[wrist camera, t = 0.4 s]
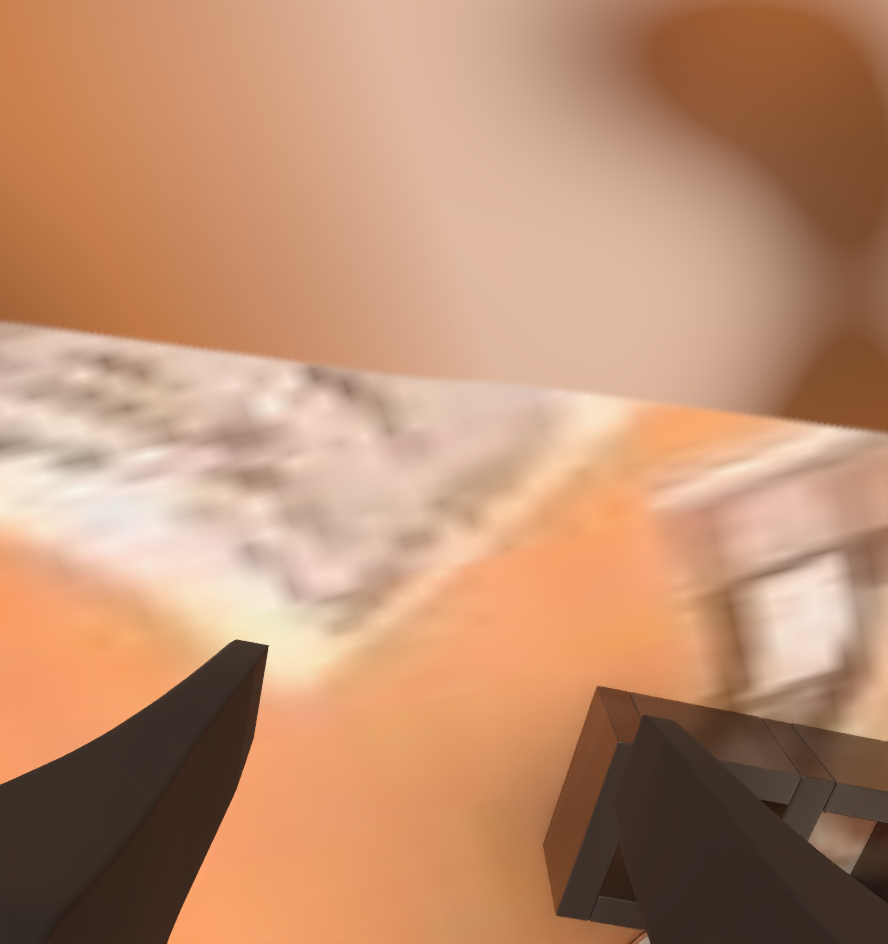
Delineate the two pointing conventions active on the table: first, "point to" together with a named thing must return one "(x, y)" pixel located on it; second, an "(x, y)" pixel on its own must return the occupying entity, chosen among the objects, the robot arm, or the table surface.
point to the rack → (744, 754)
